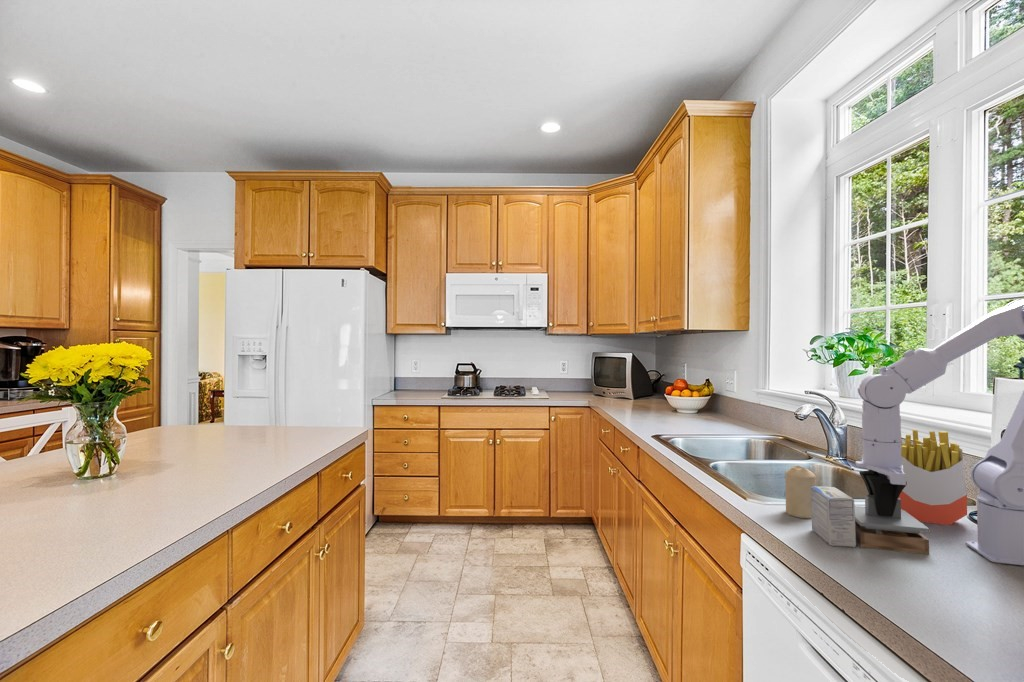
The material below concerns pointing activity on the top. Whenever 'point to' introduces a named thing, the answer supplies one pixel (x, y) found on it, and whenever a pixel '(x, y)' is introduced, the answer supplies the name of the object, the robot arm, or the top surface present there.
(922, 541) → the box
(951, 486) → the french fries container
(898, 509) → the lid
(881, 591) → the top surface
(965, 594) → the top surface
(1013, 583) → the top surface
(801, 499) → the candle
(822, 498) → the medicine box
